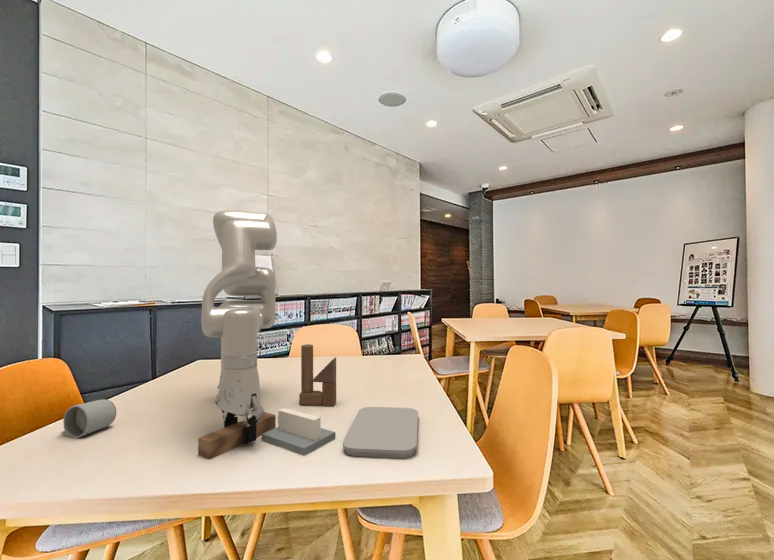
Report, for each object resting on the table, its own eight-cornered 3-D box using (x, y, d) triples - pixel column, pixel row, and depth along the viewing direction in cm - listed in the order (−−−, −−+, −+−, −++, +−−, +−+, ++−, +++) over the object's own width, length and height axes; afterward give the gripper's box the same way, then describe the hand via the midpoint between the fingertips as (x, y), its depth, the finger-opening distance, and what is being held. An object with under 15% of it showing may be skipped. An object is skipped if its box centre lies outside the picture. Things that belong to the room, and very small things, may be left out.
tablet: (339, 458, 76) (339, 447, 76) (360, 414, 102) (360, 406, 102) (416, 462, 74) (416, 451, 74) (418, 416, 100) (418, 408, 100)
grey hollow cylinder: (119, 426, 93) (119, 396, 93) (87, 439, 85) (87, 406, 85) (86, 424, 95) (86, 395, 96) (52, 436, 87) (51, 405, 88)
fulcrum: (261, 440, 84) (261, 414, 84) (294, 426, 93) (294, 402, 93) (304, 455, 77) (304, 427, 77) (335, 438, 85) (335, 413, 85)
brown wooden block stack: (333, 406, 107) (333, 346, 108) (298, 405, 109) (298, 346, 109) (336, 402, 111) (336, 344, 111) (303, 401, 112) (303, 344, 113)
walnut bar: (209, 461, 75) (209, 441, 75) (198, 456, 77) (198, 437, 77) (275, 430, 91) (275, 414, 91) (264, 427, 93) (264, 412, 93)
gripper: (203, 360, 86) (203, 436, 85) (249, 369, 76) (249, 454, 76) (232, 355, 92) (232, 425, 92) (277, 363, 83) (277, 441, 82)
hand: (240, 438), depth 84 cm, fingers open, 6 cm apart
